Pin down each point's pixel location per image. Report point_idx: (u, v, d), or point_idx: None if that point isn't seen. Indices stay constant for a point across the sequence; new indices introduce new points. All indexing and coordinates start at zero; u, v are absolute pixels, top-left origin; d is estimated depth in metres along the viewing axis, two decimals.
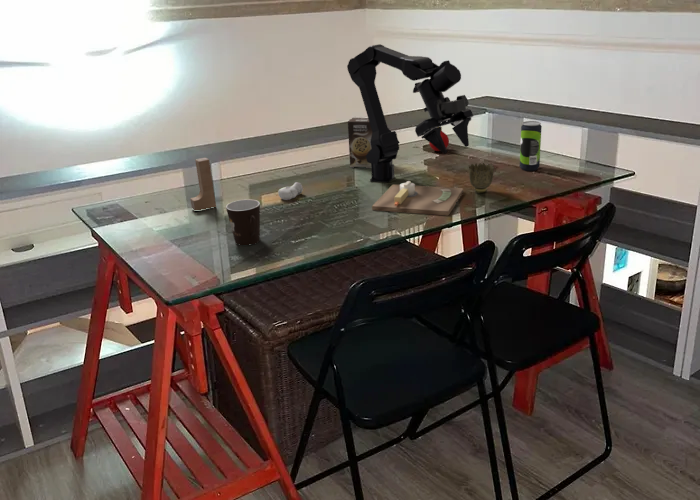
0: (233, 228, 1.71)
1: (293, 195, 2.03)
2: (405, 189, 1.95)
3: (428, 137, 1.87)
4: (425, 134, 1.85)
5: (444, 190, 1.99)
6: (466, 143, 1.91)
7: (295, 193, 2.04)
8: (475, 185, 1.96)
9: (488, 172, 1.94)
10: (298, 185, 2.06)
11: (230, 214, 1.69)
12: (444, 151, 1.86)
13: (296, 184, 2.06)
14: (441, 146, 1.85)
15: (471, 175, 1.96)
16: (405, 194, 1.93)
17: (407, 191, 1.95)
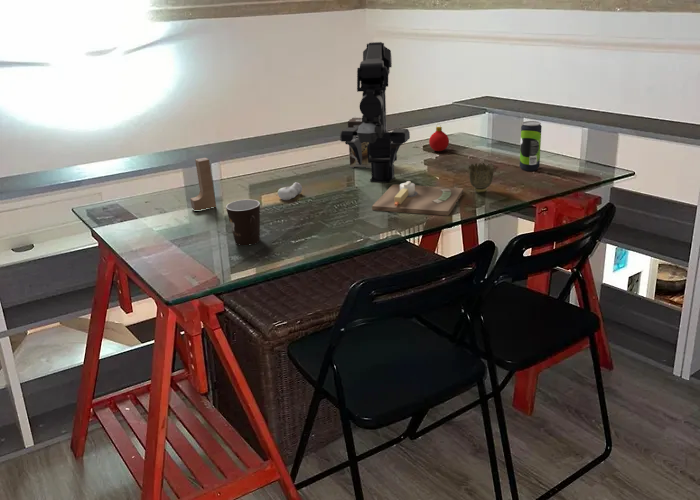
0: (233, 228, 1.71)
1: (293, 195, 2.03)
2: (405, 189, 1.95)
3: None
4: None
5: (444, 190, 1.99)
6: None
7: (295, 193, 2.04)
8: (475, 185, 1.96)
9: (488, 172, 1.94)
10: (297, 185, 2.06)
11: (230, 214, 1.69)
12: None
13: (295, 184, 2.06)
14: None
15: (471, 175, 1.96)
16: (405, 194, 1.93)
17: (407, 191, 1.95)
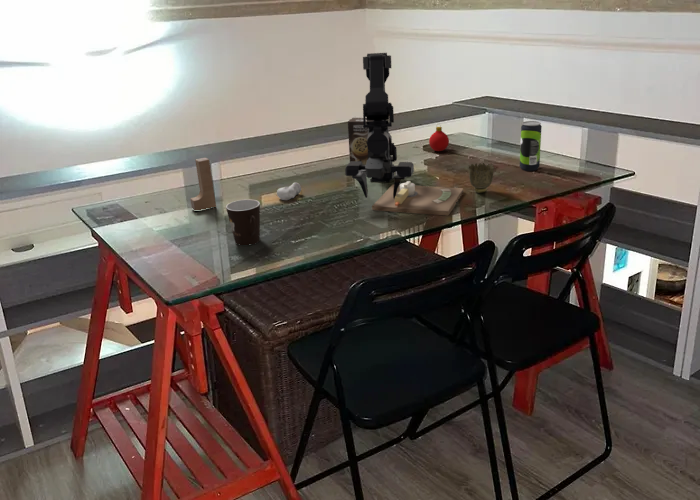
0: (233, 228, 1.71)
1: (292, 195, 2.03)
2: (405, 189, 1.95)
3: None
4: None
5: (444, 190, 1.99)
6: None
7: (294, 193, 2.04)
8: (475, 185, 1.96)
9: (488, 172, 1.94)
10: (296, 185, 2.06)
11: (230, 214, 1.69)
12: None
13: (294, 184, 2.06)
14: None
15: (471, 175, 1.96)
16: (405, 194, 1.93)
17: (408, 191, 1.95)
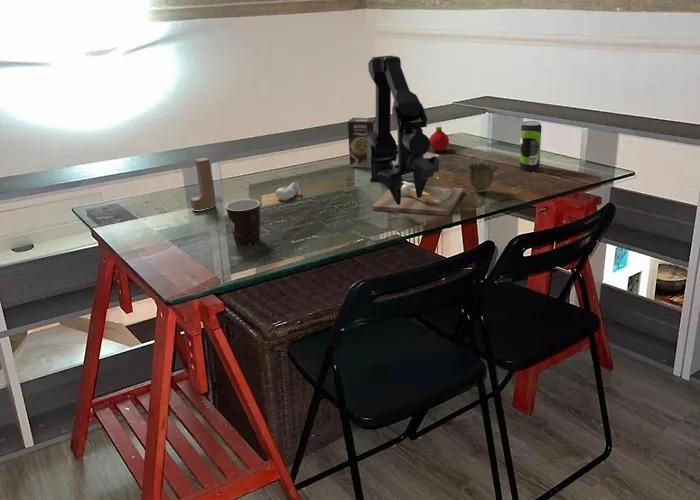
0: (233, 228, 1.71)
1: (291, 195, 2.03)
2: (414, 188, 1.95)
3: None
4: None
5: (444, 190, 1.99)
6: (419, 194, 1.90)
7: (293, 193, 2.04)
8: (475, 185, 1.96)
9: (488, 172, 1.94)
10: (295, 185, 2.06)
11: (230, 214, 1.69)
12: (398, 203, 1.85)
13: (293, 184, 2.06)
14: (397, 198, 1.84)
15: (471, 175, 1.96)
16: None
17: None
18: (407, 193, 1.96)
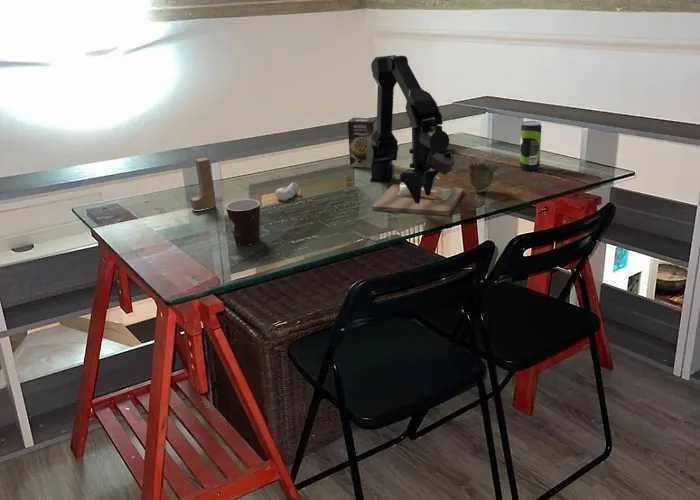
0: (233, 228, 1.71)
1: (290, 195, 2.03)
2: None
3: (409, 183, 1.82)
4: (409, 182, 1.80)
5: (444, 190, 1.99)
6: (428, 192, 1.91)
7: (292, 193, 2.04)
8: (475, 185, 1.96)
9: (488, 172, 1.94)
10: (294, 185, 2.06)
11: (230, 214, 1.69)
12: (417, 201, 1.85)
13: (292, 184, 2.06)
14: (417, 197, 1.84)
15: (471, 175, 1.96)
16: None
17: None
18: (410, 193, 1.96)
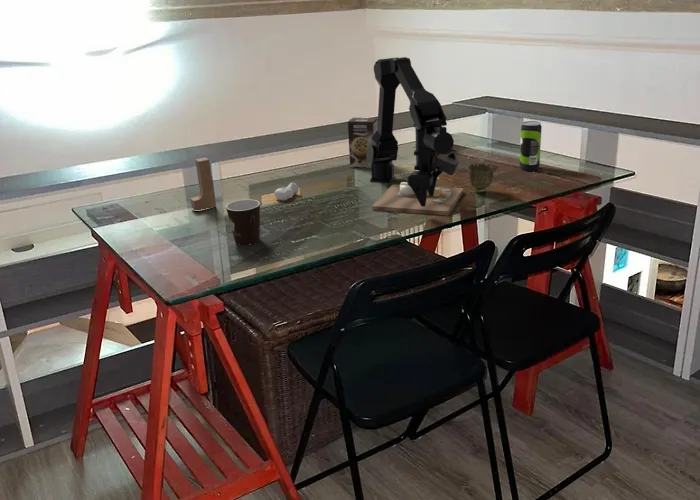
0: (233, 228, 1.71)
1: (290, 195, 2.03)
2: None
3: (415, 187, 1.80)
4: (416, 185, 1.78)
5: (444, 190, 1.99)
6: (431, 192, 1.90)
7: (292, 193, 2.04)
8: (475, 185, 1.96)
9: (488, 172, 1.94)
10: (294, 185, 2.06)
11: (230, 214, 1.69)
12: (423, 204, 1.82)
13: (292, 184, 2.06)
14: (423, 199, 1.81)
15: (471, 175, 1.96)
16: None
17: None
18: (412, 193, 1.96)
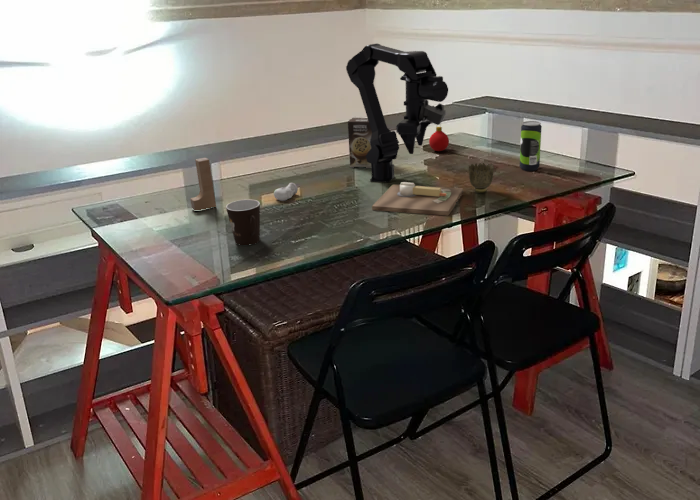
0: (233, 228, 1.71)
1: (289, 195, 2.03)
2: (417, 186, 1.96)
3: (403, 135, 1.93)
4: (405, 133, 1.91)
5: (444, 190, 1.99)
6: (420, 142, 2.04)
7: (291, 193, 2.04)
8: (475, 185, 1.96)
9: (488, 172, 1.94)
10: (293, 185, 2.06)
11: (230, 214, 1.69)
12: (411, 152, 1.96)
13: (291, 184, 2.06)
14: (411, 147, 1.95)
15: (471, 175, 1.96)
16: None
17: None
18: (412, 193, 1.96)
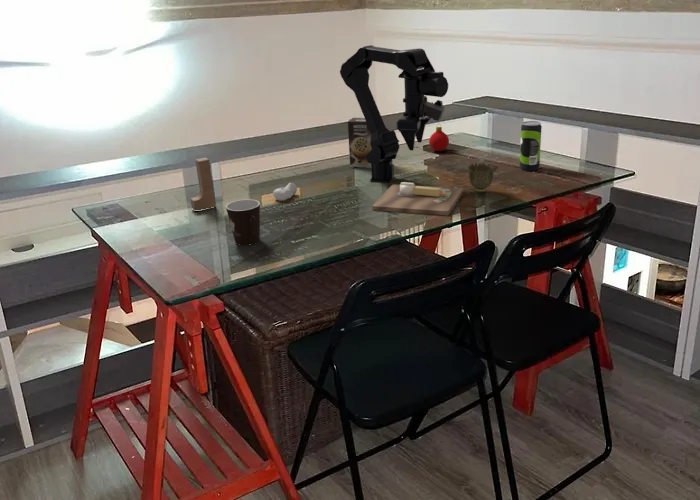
0: (233, 228, 1.71)
1: (289, 195, 2.03)
2: (417, 186, 1.96)
3: (403, 131, 1.95)
4: (405, 130, 1.93)
5: (444, 190, 1.99)
6: (420, 139, 2.06)
7: (290, 193, 2.04)
8: (475, 185, 1.96)
9: (488, 172, 1.94)
10: (292, 185, 2.05)
11: (230, 214, 1.69)
12: (411, 148, 1.98)
13: (290, 184, 2.06)
14: (411, 144, 1.97)
15: (471, 175, 1.96)
16: None
17: None
18: (412, 193, 1.96)
